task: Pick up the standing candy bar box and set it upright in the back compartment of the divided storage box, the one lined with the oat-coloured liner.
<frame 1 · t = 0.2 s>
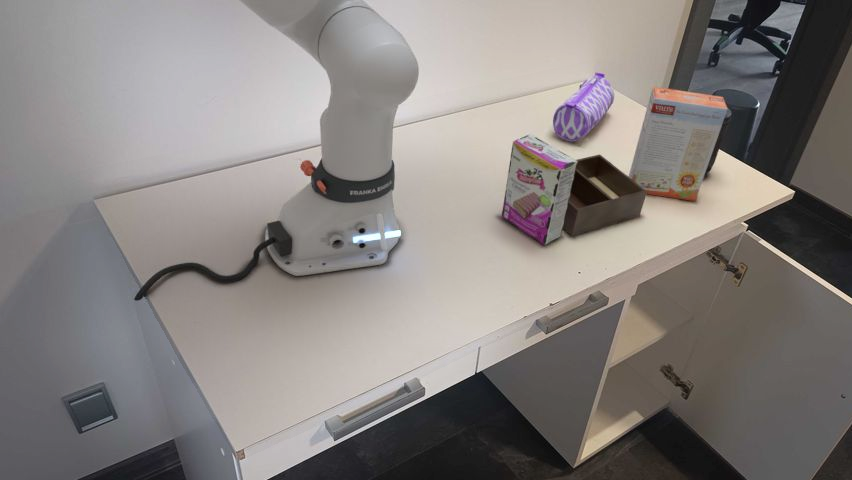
cracker box: (660, 190, 143), on the table
candy bar box: (530, 228, 127), on the table
pencil case: (581, 125, 161), on the table
divided storage box: (583, 205, 135), on the table
camera lens: (691, 172, 150), on the table
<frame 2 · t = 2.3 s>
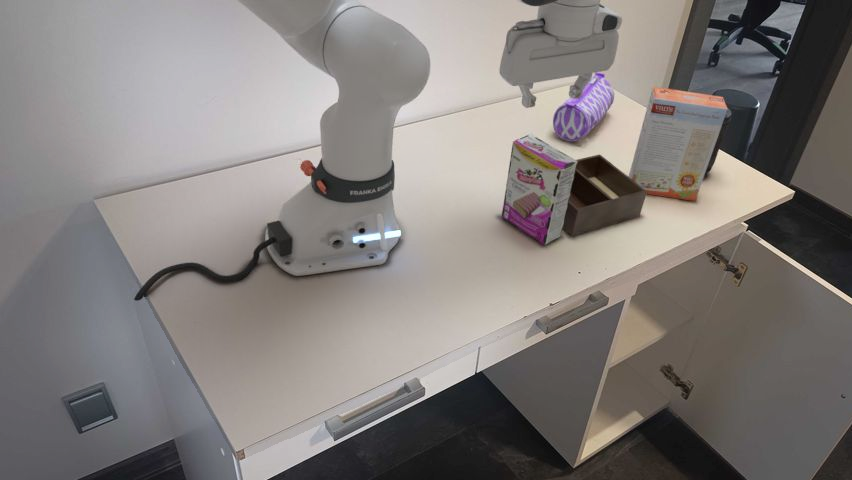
hand: (551, 101, 111), 25 cm above the table, tool pointing down, fingers open, 8 cm apart
nothing on the table moved.
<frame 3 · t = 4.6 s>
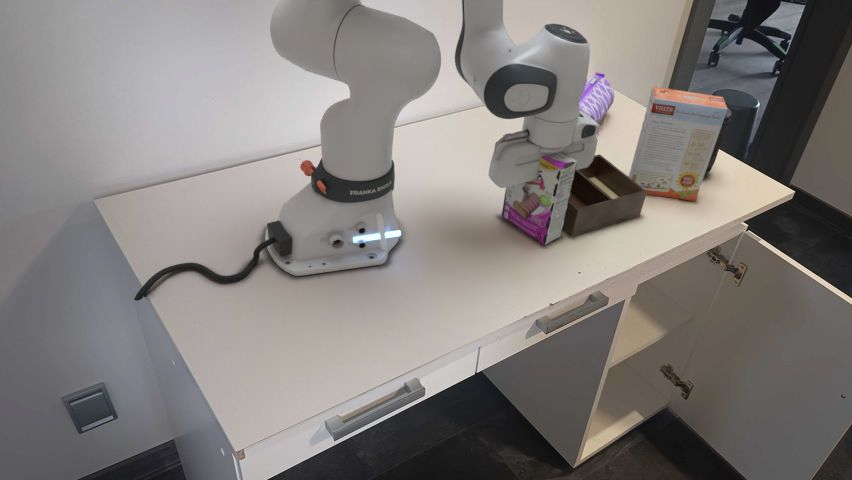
hand: (536, 195, 122), 7 cm above the table, tool pointing down, fingers closed on candy bar box, 5 cm apart
candy bar box: (530, 228, 127), on the table, touching gripper
everything else where it was.
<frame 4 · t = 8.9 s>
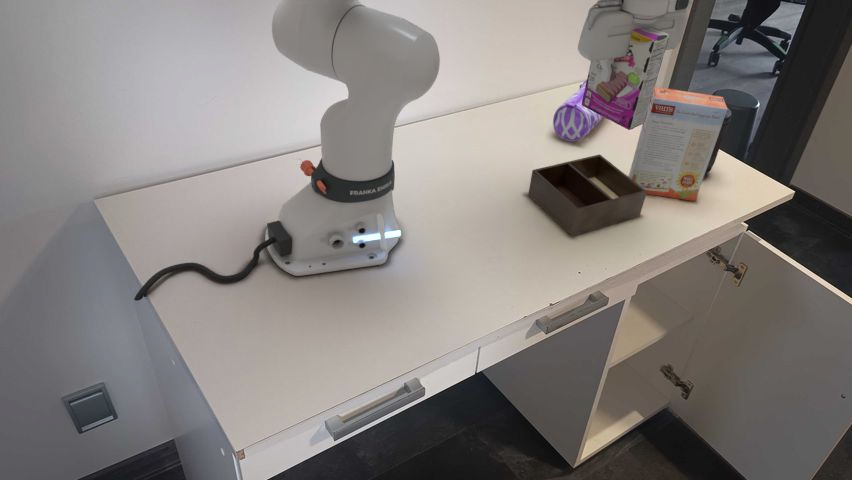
hand: (622, 77, 118), 27 cm above the table, tool pointing down, fingers closed on candy bar box, 5 cm apart
candy bar box: (611, 116, 123), point 19 cm above the table, touching gripper
everything else where it was.
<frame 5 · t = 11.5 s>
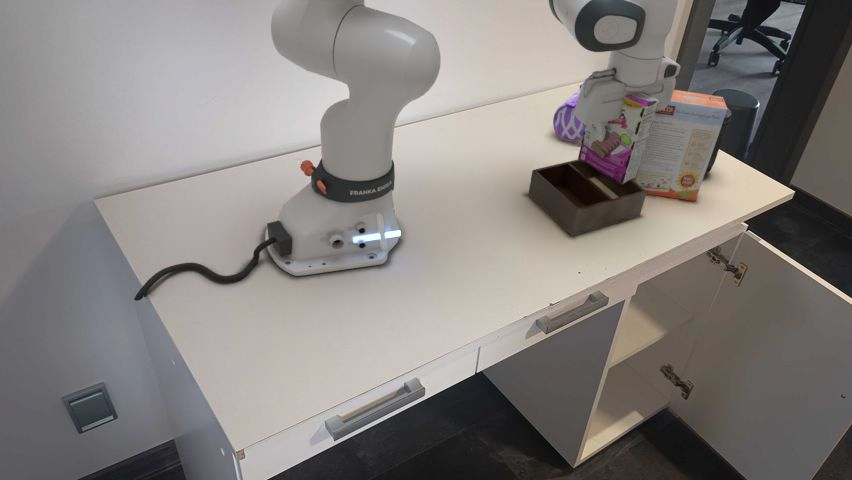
hand: (615, 136, 127), 14 cm above the table, tool pointing down, fingers closed on candy bar box, 5 cm apart
candy bar box: (606, 170, 132), point 7 cm above the table, touching gripper
everything else where it was.
when the fingers open (8 cm above the table, at t = 13.5 s): candy bar box stays where it is, resting on divided storage box.
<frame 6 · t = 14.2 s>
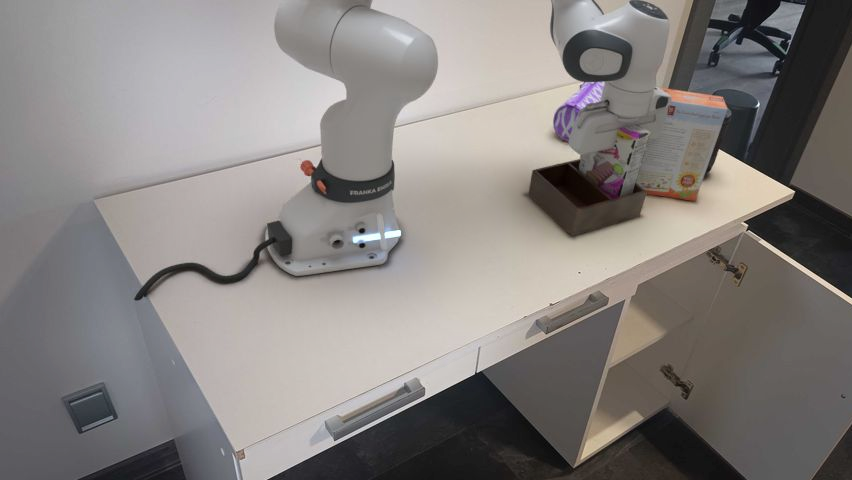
hand: (609, 164, 131), 9 cm above the table, tool pointing down, fingers open, 8 cm apart
candy bar box: (600, 197, 136), point 1 cm above the table, touching divided storage box
everything else where it was.
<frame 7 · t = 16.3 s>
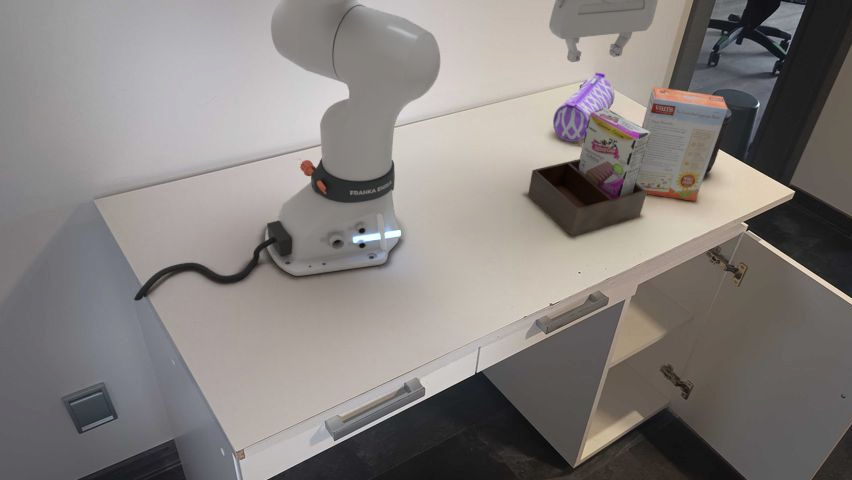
hand: (594, 58, 120), 28 cm above the table, tool pointing down, fingers open, 8 cm apart
nothing on the table moved.
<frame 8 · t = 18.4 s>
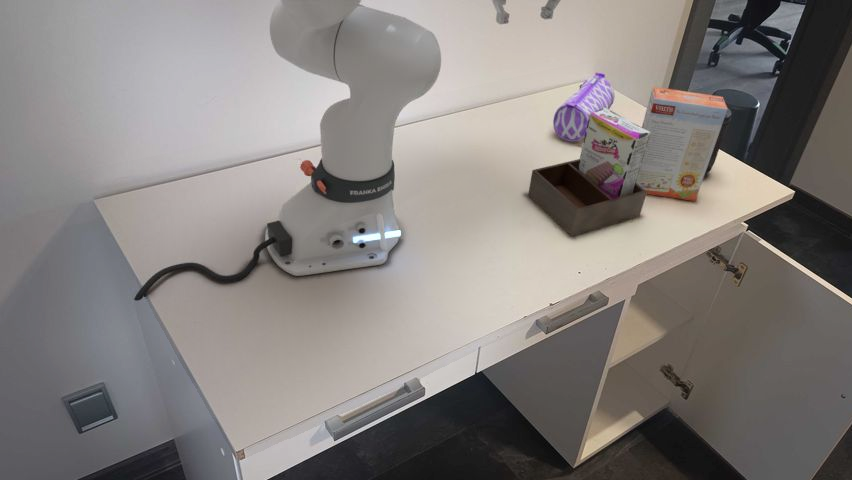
hand: (524, 20, 121), 31 cm above the table, tool pointing down, fingers open, 8 cm apart
nothing on the table moved.
at the end: candy bar box inside the target area on the divided storage box (0.2 cm from its centre), point 0.8 cm above the divided storage box's base; candy bar box tilted 0°; the gripper is holding nothing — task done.
